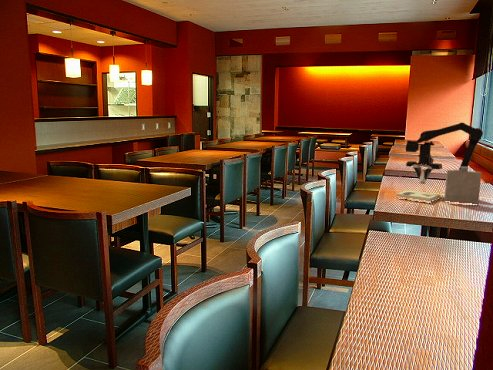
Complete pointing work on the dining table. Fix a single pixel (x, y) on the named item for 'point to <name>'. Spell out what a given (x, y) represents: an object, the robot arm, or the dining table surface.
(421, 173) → the plug
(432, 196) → the socket block
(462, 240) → the dining table surface
